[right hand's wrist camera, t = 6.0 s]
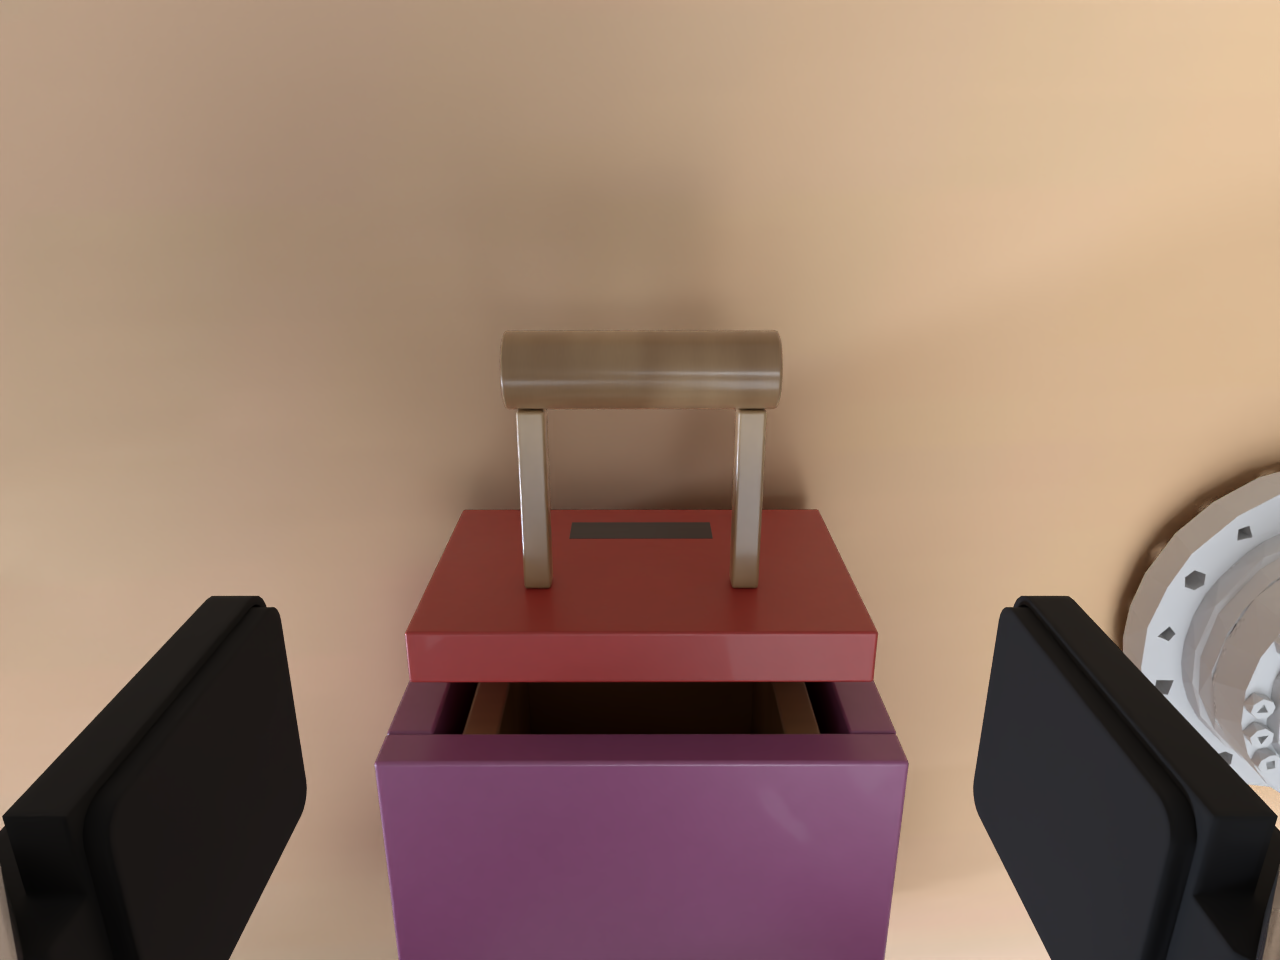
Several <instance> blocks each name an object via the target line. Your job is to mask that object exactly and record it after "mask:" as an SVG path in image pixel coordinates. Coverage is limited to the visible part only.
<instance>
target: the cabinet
mask: <svg viewBox="0 0 1280 960" xmlns="http://www.w3.org/2000/svg"><path fill="white" fill-rule="evenodd" d="M477 684H478V682H411V681H409V683H408V686H407V688H406V690H405V693H404V695H403V697H402V700H401V702H400V704H399V707H398V709H397V711H396V714H395V716H394V719H393V721H392V723H391V726H390V728H389V730H388V733H387V736H386V738H385V740H384V742H383V745H382V747H381V750H380V752H379V754H378V757H377V759H376V761H375V772H376V780H377V788H378V796H379V804H380V813H381V821H382V829H383V837H384V845H385V853H386V861H387V869H388V877H389V885H390V893H391V901H392V909H393V917H394V925H395V933H396V942H397V950H398V958H399V960H884V958H885V950H886V942H887V934H888V926H889V918H890V910H891V902H892V894H893V886H894V878H895V869H896V861H897V853H898V845H899V837H900V829H901V821H902V813H903V805H904V797H905V789H906V781H907V773H908V765H909V763H908V760H907V758H906V756H905V753H904V751H903V749H902V747H901V744H900V742H899V740H898V737H897V736H896V731H895V729H894V727H893V724H892V722H891V720H890V717H889V715H888V713H887V711H886V708H885V706H884V704H883V701H882V699H881V697H880V694H879V692H878V690H877V688H876V685H875V683H874V681H871V682H805V685H806V688H807V691H808V695H809V698H810V701H811V704H812V708H813V711H814V714H815V717H816V721H817V724H818V727H819V730H820V734H463V731H464V728H465V724H466V721H467V718H468V714H469V711H470V708H471V704H472V701H473V697H474V694H475V691H476V687H477Z"/></svg>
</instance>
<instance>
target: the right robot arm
mask: <svg viewBox="0 0 1280 960" xmlns="http://www.w3.org/2000/svg"><path fill="white" fill-rule="evenodd" d="M306 791H307V785H306V777H305V770H304V764H303V758H302V751H301V745H300V738H299V732H298V726H297V719H296V713H295V707H294V700H293V694H292V687H291V681H290V675H289V668H288V662H287V656H286V649H285V643H284V636H283V630H282V624H281V618H280V614H279V612H278V610H277V609H276V608H274V607H266V604H265V602H264V600H263V599H262V598H261V597H259V596H211V597H210V598H208V599H207V600H206V601H205V602H204V603H203V604H202V605H201V606H200V607H199V608H198V609H197V610H196V611H195V613H194V614H193V615H192V616H191V617H190V618H189V619H188V620H187V621H186V622H185V623H184V624H183V625H182V626H181V627H180V628H179V630H178V631H177V632H176V633H175V634H174V635H173V636H172V637H171V638H170V639H169V640H168V641H167V642H166V643H165V644H164V645H163V646H162V648H161V649H160V650H159V651H158V652H157V653H156V654H155V655H154V656H153V657H152V658H151V659H150V660H149V661H148V662H147V663H146V664H145V666H144V667H143V668H142V669H141V670H140V671H139V672H138V673H137V674H136V675H135V676H134V677H133V678H132V679H131V680H130V681H129V682H128V684H127V685H126V686H125V687H124V688H123V689H122V690H121V691H120V692H119V693H118V694H117V695H116V696H115V697H114V698H113V699H112V701H111V702H110V703H109V704H108V705H107V706H106V707H105V708H104V709H103V710H102V711H101V712H100V713H99V714H98V715H97V716H96V717H95V719H94V720H93V721H92V722H91V723H90V724H89V725H88V726H87V727H86V728H85V729H84V730H83V731H82V732H81V733H80V734H79V735H78V737H77V738H76V739H75V740H74V741H73V742H72V743H71V744H70V745H69V746H68V747H67V748H66V749H65V750H64V751H63V752H62V753H61V755H60V756H59V757H58V758H57V759H56V760H55V761H54V762H53V763H52V764H51V765H50V766H49V767H48V768H47V769H46V770H45V771H44V773H43V774H42V775H41V776H40V777H39V778H38V779H37V780H36V781H35V782H34V783H33V784H32V785H31V786H30V787H29V788H28V790H27V791H26V792H25V793H24V794H23V795H22V796H21V797H20V798H19V799H18V800H17V801H16V802H15V803H14V804H13V805H12V806H11V808H10V809H9V810H8V811H7V812H6V813H5V814H4V815H3V816H2V817H3V821H4V824H5V826H4V827H3V829H2V830H1V831H0V960H229V958H230V956H231V954H232V952H233V950H234V948H235V946H236V944H237V942H238V940H239V938H240V936H241V934H242V932H243V930H244V928H245V926H246V924H247V922H248V920H249V918H250V916H251V914H252V912H253V910H254V908H255V906H256V904H257V902H258V900H259V898H260V896H261V894H262V892H263V890H264V888H265V886H266V884H267V882H268V880H269V878H270V876H271V874H272V872H273V870H274V868H275V866H276V865H277V863H278V861H279V859H280V857H281V855H282V853H283V851H284V849H285V847H286V845H287V843H288V841H289V839H290V837H291V835H292V833H293V831H294V829H295V827H296V825H297V823H298V821H299V819H300V817H301V814H302V812H303V809H304V805H305V801H306ZM973 792H974V801H975V806H976V809H977V812H978V815H979V817H980V819H981V821H982V823H983V825H984V827H985V829H986V831H987V833H988V835H989V837H990V839H991V841H992V843H993V845H994V847H995V849H996V851H997V853H998V855H999V857H1000V859H1001V861H1002V863H1003V865H1004V867H1005V869H1006V871H1007V873H1008V875H1009V877H1010V879H1011V881H1012V882H1013V884H1014V886H1015V888H1016V890H1017V892H1018V894H1019V896H1020V898H1021V900H1022V902H1023V904H1024V906H1025V908H1026V910H1027V912H1028V914H1029V916H1030V918H1031V920H1032V922H1033V924H1034V926H1035V928H1036V930H1037V932H1038V934H1039V936H1040V938H1041V940H1042V942H1043V944H1044V946H1045V948H1046V950H1047V952H1048V954H1049V956H1050V958H1051V960H1280V831H1279V830H1278V829H1277V827H1276V826H1275V824H1276V820H1277V817H1278V816H1277V815H1276V814H1275V813H1274V812H1273V811H1272V810H1271V809H1270V808H1269V806H1268V805H1267V804H1266V803H1265V802H1264V801H1263V800H1262V799H1261V798H1260V797H1259V796H1258V795H1257V794H1256V793H1255V792H1254V791H1253V790H1252V788H1251V787H1250V786H1249V785H1248V784H1247V783H1246V782H1245V781H1244V780H1243V779H1242V778H1241V777H1240V776H1239V775H1238V774H1237V773H1236V772H1235V770H1234V769H1233V768H1232V767H1231V766H1230V765H1229V764H1228V763H1227V762H1226V761H1225V760H1224V759H1223V758H1222V757H1221V756H1220V755H1219V754H1218V752H1217V751H1216V750H1215V749H1214V748H1213V747H1212V746H1211V745H1210V744H1209V743H1208V742H1207V741H1206V740H1205V739H1204V738H1203V737H1202V736H1201V734H1200V733H1199V732H1198V731H1197V730H1196V729H1195V728H1194V727H1193V726H1192V725H1191V724H1190V723H1189V722H1188V721H1187V720H1186V719H1185V717H1184V716H1183V715H1182V714H1181V713H1180V712H1179V711H1178V710H1177V709H1176V708H1175V707H1174V706H1173V705H1172V704H1171V703H1170V702H1169V701H1168V699H1167V698H1166V697H1165V696H1164V695H1163V694H1162V693H1161V692H1160V691H1159V690H1158V689H1157V688H1156V687H1155V686H1154V685H1153V684H1152V683H1151V681H1150V680H1149V679H1148V678H1147V677H1146V676H1145V675H1144V674H1143V673H1142V672H1141V671H1140V670H1139V669H1138V668H1137V667H1136V666H1135V665H1134V663H1133V662H1132V661H1131V660H1130V659H1129V658H1128V657H1127V656H1126V655H1125V654H1124V653H1123V652H1122V651H1121V650H1120V649H1119V648H1118V646H1117V645H1116V644H1115V643H1114V642H1113V641H1112V640H1111V639H1110V638H1109V637H1108V636H1107V635H1106V634H1105V633H1104V632H1103V631H1102V630H1101V628H1100V627H1099V626H1098V625H1097V624H1096V623H1095V622H1094V621H1093V620H1092V619H1091V618H1090V617H1089V616H1088V615H1087V614H1086V613H1085V612H1084V610H1083V609H1082V608H1081V607H1080V606H1079V605H1078V604H1077V603H1076V602H1075V601H1074V600H1073V599H1072V598H1070V597H1069V596H1021V597H1019V598H1018V599H1017V600H1016V602H1015V604H1014V607H1006V608H1004V609H1003V610H1002V612H1001V614H1000V618H999V623H998V630H997V636H996V642H995V649H994V655H993V662H992V668H991V674H990V681H989V687H988V694H987V700H986V706H985V713H984V719H983V725H982V732H981V738H980V745H979V751H978V757H977V764H976V770H975V777H974V785H973Z"/></svg>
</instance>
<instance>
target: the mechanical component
mask: <svg viewBox="0 0 1280 960" xmlns="http://www.w3.org/2000/svg"><path fill="white" fill-rule="evenodd" d="M1123 653H1124V654H1125V655H1126V656H1127V657H1128V658H1129V659H1130V660H1131V661H1132V662H1133V663H1134V665H1135V666H1136V667H1137V668H1138V669H1139V670H1140V671H1141V672H1142V673H1143V674H1144V675H1145V676H1146V677H1147V678H1148V679H1149V680H1150V681H1151V683H1152V684H1153V685H1154V686H1155V687H1156V688H1157V689H1158V690H1159V691H1160V692H1161V693H1162V694H1163V695H1164V696H1165V697H1166V698H1167V699H1168V701H1169V702H1170V703H1171V704H1172V705H1173V706H1174V707H1175V708H1176V709H1177V710H1178V711H1179V712H1180V713H1181V714H1182V715H1183V716H1184V717H1185V719H1186V720H1187V721H1188V722H1189V723H1190V724H1191V725H1192V726H1193V727H1194V728H1195V729H1196V730H1197V731H1198V732H1199V733H1200V734H1201V736H1202V737H1203V738H1204V739H1205V740H1206V741H1207V742H1208V743H1209V744H1210V745H1211V746H1212V747H1213V748H1214V749H1215V750H1216V751H1217V752H1218V754H1219V755H1220V756H1221V757H1222V758H1223V759H1224V760H1225V761H1226V762H1227V763H1228V764H1229V765H1230V766H1231V767H1232V768H1233V769H1234V770H1235V772H1236V773H1237V774H1238V775H1239V776H1240V777H1241V778H1242V779H1243V780H1244V781H1245V782H1246V783H1247V784H1251V785H1259V786H1268V787H1271V788H1273V789H1275V790H1276V791H1278V792H1279V793H1280V472H1276V473H1273V474H1269V475H1266V476H1262V477H1258V478H1257V479H1255V480H1253V481H1251V482H1249V483H1247V484H1246V485H1244V486H1242V487H1240V488H1238V489H1236V490H1234V491H1233V492H1231V493H1229V494H1227V495H1225V496H1223V497H1222V498H1220V499H1218V500H1216V501H1214V502H1213V503H1211V504H1210V505H1209V506H1208V507H1206V508H1205V509H1204V510H1203V511H1202V512H1200V513H1199V514H1198V515H1197V516H1196V517H1194V518H1193V519H1192V520H1191V521H1190V522H1188V523H1187V524H1186V525H1185V526H1184V527H1182V528H1181V529H1180V530H1179V531H1177V532H1176V533H1175V534H1174V536H1173V537H1172V538H1171V540H1170V541H1169V542H1168V544H1167V545H1166V546H1165V547H1164V549H1163V550H1162V551H1161V553H1160V554H1159V555H1158V557H1157V558H1156V559H1155V561H1154V562H1153V563H1152V565H1151V566H1150V567H1149V568H1148V570H1147V571H1146V572H1145V574H1144V577H1143V579H1142V581H1141V583H1140V585H1139V588H1138V590H1137V592H1136V594H1135V596H1134V598H1133V601H1132V603H1131V605H1130V608H1129V613H1128V617H1127V621H1126V626H1125V630H1124V635H1123Z"/></svg>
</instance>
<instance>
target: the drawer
mask: <svg viewBox="0 0 1280 960" xmlns="http://www.w3.org/2000/svg"><path fill="white" fill-rule="evenodd" d="M782 375H783V357H782V344H781V339H780V336H779V333H778V332H777V331H506V332H504V334H503V337H502V341H501V349H500V383H501V392H502V398H503V402H504V405H505V407H506V408H508V409H518V410H517V412H516V430H517V450H518V470H519V490H520V510H464V511H463V512H462V515H461V517H460V519H459V521H458V523H457V525H456V527H455V529H454V531H453V534H452V536H451V538H450V540H449V542H448V544H447V546H446V548H445V550H444V552H443V555H442V557H441V559H440V561H439V563H438V565H437V567H436V569H435V571H434V573H433V576H432V578H431V580H430V582H429V584H428V586H427V588H426V590H425V592H424V594H423V597H422V599H421V601H420V603H419V605H418V607H417V609H416V611H415V613H414V616H413V618H412V620H411V622H410V624H409V626H408V628H407V630H406V632H405V640H406V650H407V659H408V669H409V679H410V681H411V682H478V684H477V687H476V691H475V694H474V697H473V701H472V704H471V708H470V711H469V714H468V718H467V721H466V724H465V728H464V731H463V734H820V730H819V727H818V724H817V721H816V717H815V714H814V711H813V708H812V704H811V701H810V698H809V695H808V691H807V688H806V685H805V682H871V681H873V677H874V667H875V658H876V648H877V638H878V632H877V630H876V628H875V626H874V624H873V622H872V620H871V618H870V616H869V614H868V611H867V609H866V607H865V605H864V603H863V601H862V599H861V597H860V595H859V593H858V591H857V589H856V587H855V585H854V583H853V581H852V579H851V577H850V574H849V572H848V570H847V568H846V566H845V564H844V562H843V560H842V558H841V556H840V554H839V552H838V550H837V548H836V546H835V544H834V542H833V539H832V537H831V535H830V533H829V531H828V529H827V527H826V525H825V523H824V521H823V519H822V517H821V515H820V513H819V511H818V510H762V500H763V480H764V460H765V440H766V420H767V413H766V411H765V409H774V408H776V407H777V406H778V403H779V400H780V396H781V389H782ZM547 409H736V412H735V439H734V466H733V492H732V510H551V508H550V481H549V455H548V429H547Z"/></svg>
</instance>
